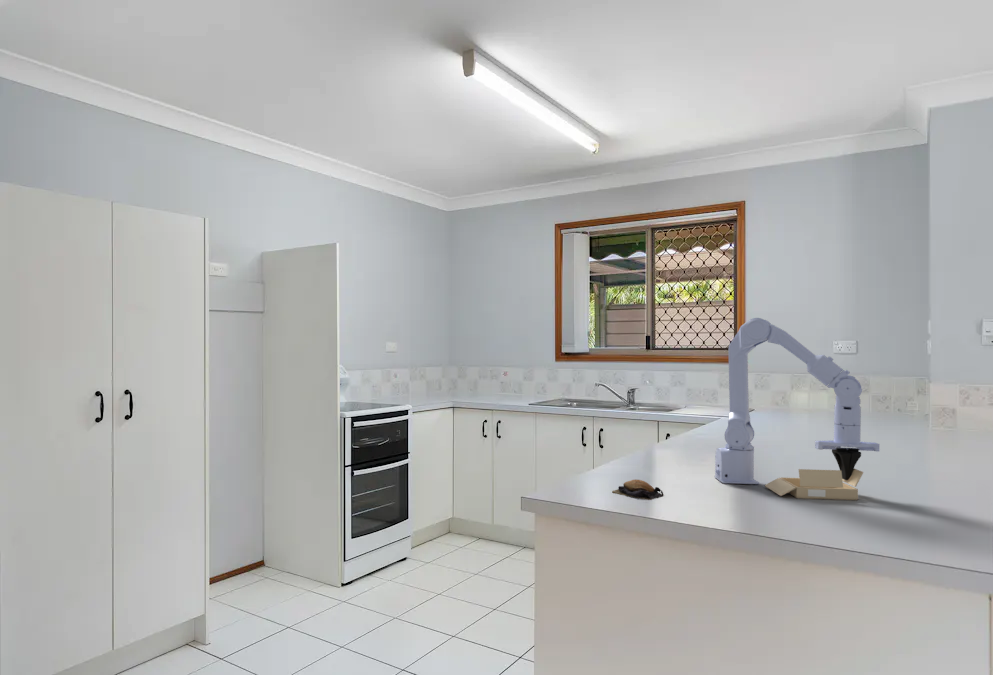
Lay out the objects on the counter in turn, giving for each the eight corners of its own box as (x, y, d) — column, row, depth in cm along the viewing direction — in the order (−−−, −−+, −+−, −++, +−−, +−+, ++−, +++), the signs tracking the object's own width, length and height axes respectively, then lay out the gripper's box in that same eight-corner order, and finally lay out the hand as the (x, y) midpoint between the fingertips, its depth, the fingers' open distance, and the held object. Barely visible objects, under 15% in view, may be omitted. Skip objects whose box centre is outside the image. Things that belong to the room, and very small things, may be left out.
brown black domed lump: (609, 495, 149) (609, 479, 149) (628, 489, 155) (628, 474, 155) (649, 503, 142) (649, 487, 142) (667, 496, 148) (667, 481, 148)
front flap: (800, 486, 146) (800, 486, 146) (798, 469, 147) (799, 469, 147) (842, 487, 146) (843, 487, 145) (840, 470, 147) (841, 470, 146)
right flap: (862, 471, 147) (863, 472, 147) (845, 465, 155) (846, 465, 155) (854, 486, 147) (855, 487, 147) (838, 479, 155) (839, 479, 155)
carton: (780, 497, 146) (781, 487, 146) (758, 483, 161) (758, 474, 161) (858, 500, 145) (858, 489, 145) (828, 486, 160) (828, 476, 160)
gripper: (824, 425, 148) (823, 481, 148) (886, 427, 147) (886, 483, 147) (811, 422, 155) (810, 475, 155) (871, 423, 154) (870, 477, 154)
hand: (846, 479), depth 152 cm, fingers closed, pressing on right flap
